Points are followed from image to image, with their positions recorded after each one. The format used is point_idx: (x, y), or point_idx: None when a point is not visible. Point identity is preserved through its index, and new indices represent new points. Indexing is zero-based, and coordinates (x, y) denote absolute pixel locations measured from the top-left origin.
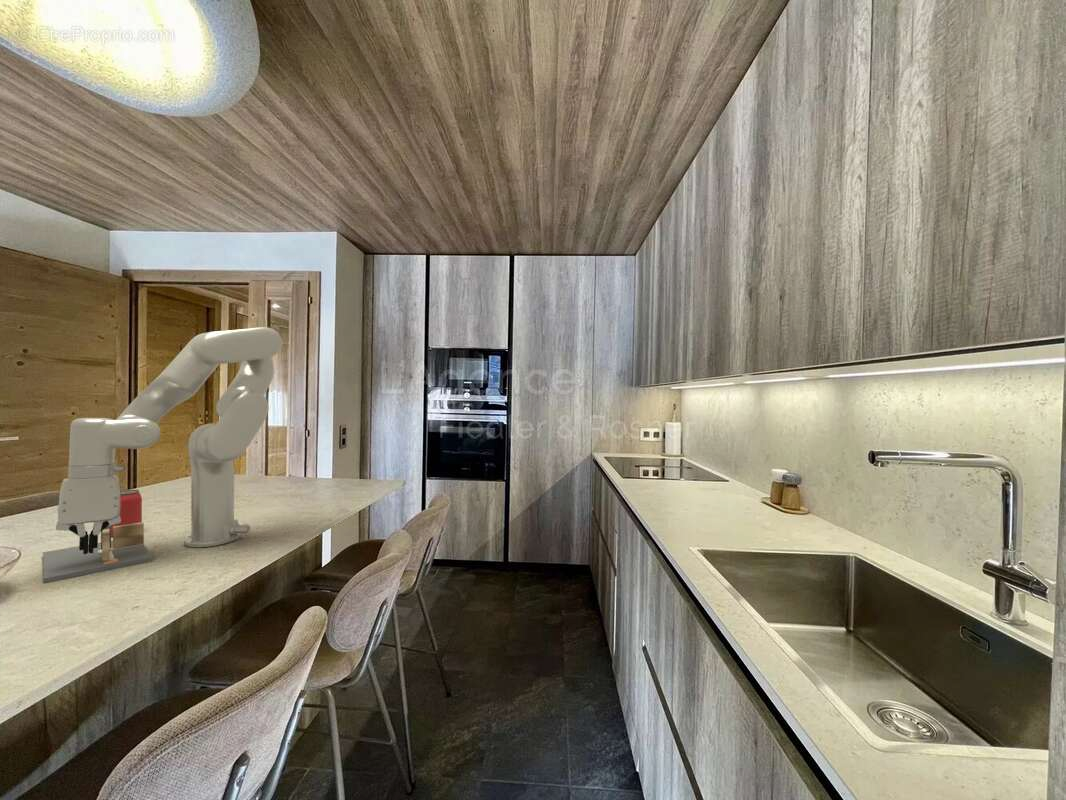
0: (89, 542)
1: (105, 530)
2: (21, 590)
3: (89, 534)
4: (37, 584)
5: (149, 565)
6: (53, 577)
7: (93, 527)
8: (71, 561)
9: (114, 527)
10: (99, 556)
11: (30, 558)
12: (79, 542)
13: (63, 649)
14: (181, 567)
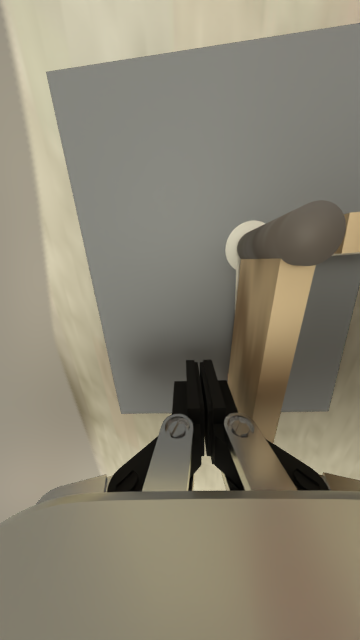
0: (204, 432)
1: (287, 303)
2: (97, 418)
3: (208, 423)
4: (115, 403)
5: (304, 428)
6: (137, 411)
7: (232, 455)
8: (159, 314)
9: (348, 248)
10: (225, 313)
11: (24, 88)
12: (173, 399)
13: None
14: (343, 476)
